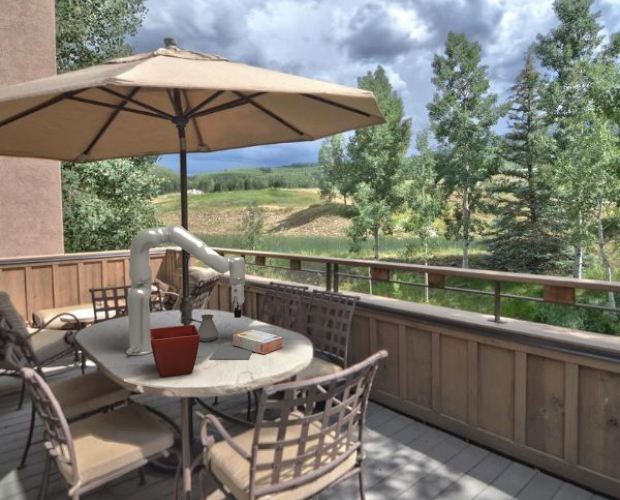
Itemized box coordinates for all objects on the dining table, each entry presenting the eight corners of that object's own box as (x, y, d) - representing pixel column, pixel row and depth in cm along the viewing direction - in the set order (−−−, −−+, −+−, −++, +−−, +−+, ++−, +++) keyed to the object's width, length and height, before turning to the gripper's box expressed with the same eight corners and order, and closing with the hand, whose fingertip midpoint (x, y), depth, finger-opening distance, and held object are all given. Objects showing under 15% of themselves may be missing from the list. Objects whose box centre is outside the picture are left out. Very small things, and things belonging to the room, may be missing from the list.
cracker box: (232, 345, 218) (263, 355, 206) (232, 333, 217) (264, 342, 205) (251, 339, 229) (282, 348, 217) (251, 328, 229) (283, 336, 217)
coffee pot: (210, 335, 240) (210, 308, 238) (223, 339, 232) (222, 311, 230) (175, 343, 224) (174, 314, 223) (187, 348, 216) (186, 318, 215)
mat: (248, 359, 199) (248, 358, 199) (209, 359, 200) (209, 358, 200) (255, 345, 221) (255, 344, 221) (220, 345, 222) (220, 344, 222)
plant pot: (150, 366, 192) (149, 328, 190) (195, 360, 198) (194, 324, 197) (151, 381, 174) (150, 339, 172) (201, 375, 181) (200, 335, 179)
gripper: (242, 283, 212) (242, 321, 214) (247, 279, 227) (247, 314, 229) (226, 283, 213) (227, 321, 214) (232, 279, 227) (233, 314, 229)
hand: (237, 317), depth 221 cm, fingers closed
